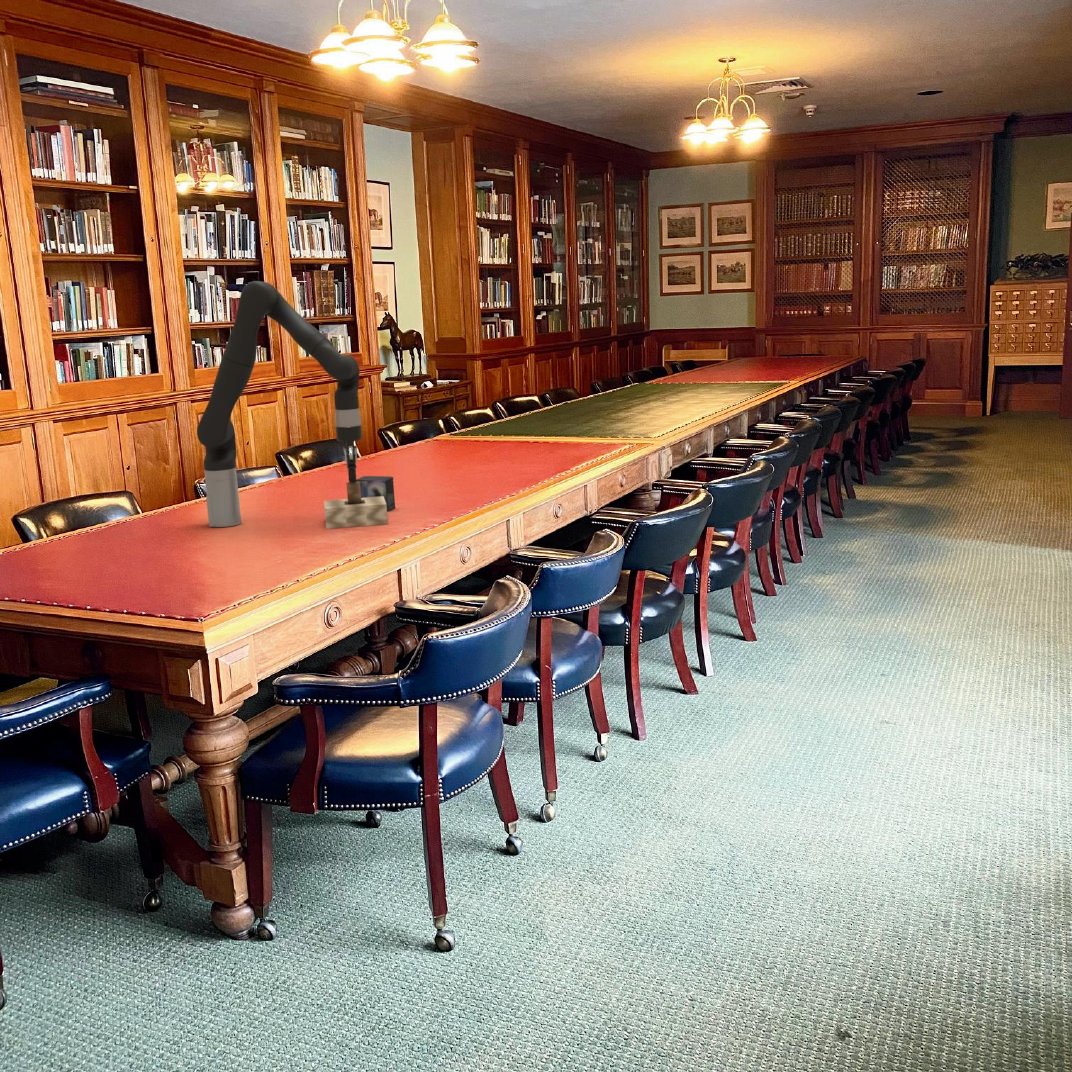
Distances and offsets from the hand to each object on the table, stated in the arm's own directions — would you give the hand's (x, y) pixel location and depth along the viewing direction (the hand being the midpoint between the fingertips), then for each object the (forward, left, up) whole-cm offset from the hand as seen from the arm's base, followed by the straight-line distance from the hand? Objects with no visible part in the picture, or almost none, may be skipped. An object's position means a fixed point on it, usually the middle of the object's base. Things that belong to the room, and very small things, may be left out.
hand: (352, 481), depth 317 cm
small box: (+7, +17, -12) cm, 22 cm away
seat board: (0, 0, -12) cm, 12 cm away
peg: (0, 0, -12) cm, 12 cm away
